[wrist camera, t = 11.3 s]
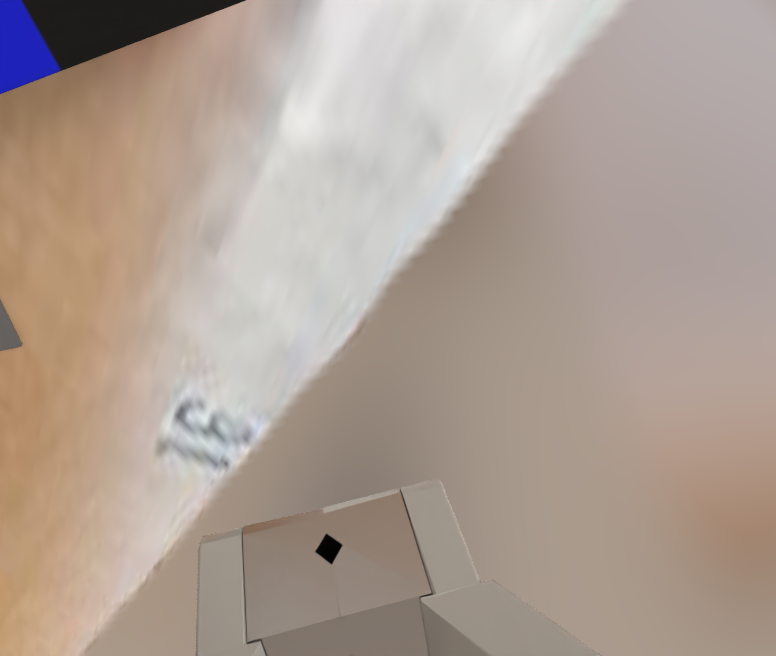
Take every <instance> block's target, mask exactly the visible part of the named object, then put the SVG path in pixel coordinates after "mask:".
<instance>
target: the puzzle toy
mask: <svg viewBox="0 0 776 656" xmlns="http://www.w3.org/2000/svg"><path fill="white" fill-rule="evenodd" d="M243 1H245V0H0V94H2V93H4V92H7V91H10V90H12V89H15V88H17V87H20V86H23V85H25V84H28V83H31V82H33V81H36V80H38V79H41V78H44V77H46V76H49V75H51V74H54V73H57V72H59V71H62V70H65V69H67V68H70V67H72V66H75V65H78V64H80V63H83V62H86V61H88V60H91V59H93V58H96V57H99V56H101V55H104V54H106V53H109V52H112V51H114V50H117V49H120V48H122V47H125V46H127V45H130V44H133V43H135V42H138V41H141V40H143V39H146V38H148V37H151V36H154V35H156V34H159V33H161V32H164V31H167V30H169V29H172V28H175V27H177V26H180V25H182V24H185V23H188V22H190V21H193V20H196V19H198V18H201V17H203V16H206V15H209V14H211V13H214V12H216V11H219V10H222V9H224V8H227V7H230V6H232V5H235V4H237V3H240V2H243Z"/></svg>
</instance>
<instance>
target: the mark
mask: <svg viewBox="0 0 776 656" xmlns="http://www.w3.org/2000/svg"><path fill="white" fill-rule="evenodd" d="M21 346H22V343H21V341H20V338H19V336H18V334H17V332H16V330H15V328H14V326H13V324H12V322H11V320H10V318H9V316H8V314H7V312H6V310H5V308H4V306H3V304H2V302H1V300H0V351H2V350H7V349H12V348H16V347H21Z"/></svg>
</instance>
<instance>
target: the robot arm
mask: <svg viewBox="0 0 776 656" xmlns="http://www.w3.org/2000/svg"><path fill="white" fill-rule="evenodd" d="M197 589H198V590H197V591H198V592H197V625H196V656H602V655H601V654H599V653H598V652H596V651H595V650H593V649H592V648H591V647H589V646H588V645H586V644H585V643H583V642H582V641H581V640H579V639H578V638H576V637H575V636H573V635H572V634H571V633H569V632H568V631H566V630H565V629H563V628H562V627H561V626H559V625H558V624H556V623H555V622H553V621H552V620H551V619H549V618H548V617H546V616H545V615H543V614H542V613H540V612H539V611H538V610H536V609H535V608H533V607H532V606H530V605H529V604H528V603H526V602H525V601H523V600H522V599H520V598H519V597H517V596H516V595H515V594H513V593H512V592H510V591H509V590H507V589H506V588H505V587H503V586H502V585H500V584H499V583H498V582H496V581H495V580H493V579H492V580H488V581H483V582H481V581H480V579H479V577H478V574H477V571H476V569H475V566H474V563H473V561H472V558H471V556H470V553H469V551H468V548H467V545H466V543H465V540H464V538H463V535H462V533H461V530H460V527H459V525H458V522H457V520H456V517H455V515H454V512H453V509H452V507H451V505H450V502H449V499H448V497H447V494H446V492H445V489H444V486H443V484H442V483H441V482H440V481H439V480H438V479H433V480H429V481H425V482H421V483H418V484H414V485H410V486H406V487H402V488H400V491H399V489H394V490H390V491H386V492H383V493H379V494H375V495H371V496H367V497H364V498H359V499H356V500H352V501H348V502H344V503H340V504H336V505H332V506H328V507H325V508H323V509H320V510H315V511H310V512H306V513H301V514H297V515H293V516H288V517H283V518H279V519H275V520H270V521H266V522H261V523H257V524H252V525H247V526H244V527H242V528H238V529H233V530H228V531H224V532H219V533H215V534H210V535H206V536H203V537H202V539H201V542H200V545H199V551H198V588H197Z"/></svg>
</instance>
